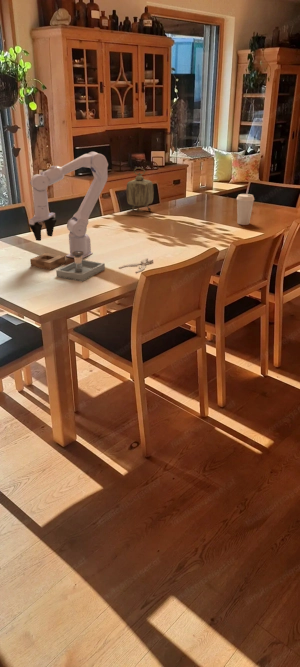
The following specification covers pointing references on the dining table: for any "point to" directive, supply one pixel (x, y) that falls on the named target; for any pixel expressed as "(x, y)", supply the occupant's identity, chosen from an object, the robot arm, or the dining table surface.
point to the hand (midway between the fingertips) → (44, 238)
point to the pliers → (143, 263)
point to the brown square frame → (47, 261)
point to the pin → (78, 261)
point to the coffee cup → (244, 208)
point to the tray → (88, 271)
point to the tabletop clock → (139, 191)
